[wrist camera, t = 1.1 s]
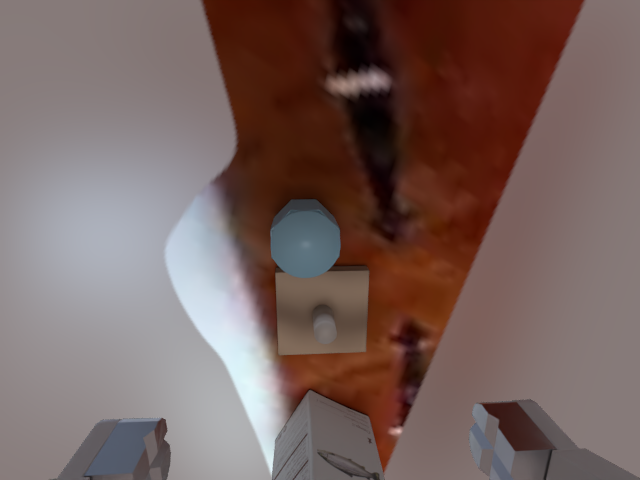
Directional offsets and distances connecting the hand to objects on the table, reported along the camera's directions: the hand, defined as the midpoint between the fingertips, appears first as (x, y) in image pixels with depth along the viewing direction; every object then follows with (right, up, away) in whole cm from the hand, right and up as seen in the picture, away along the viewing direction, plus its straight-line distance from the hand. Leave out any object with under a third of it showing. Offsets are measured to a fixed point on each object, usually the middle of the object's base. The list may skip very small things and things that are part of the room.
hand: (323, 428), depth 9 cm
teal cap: (-1, +6, +21) cm, 21 cm away
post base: (0, -1, +23) cm, 23 cm away
